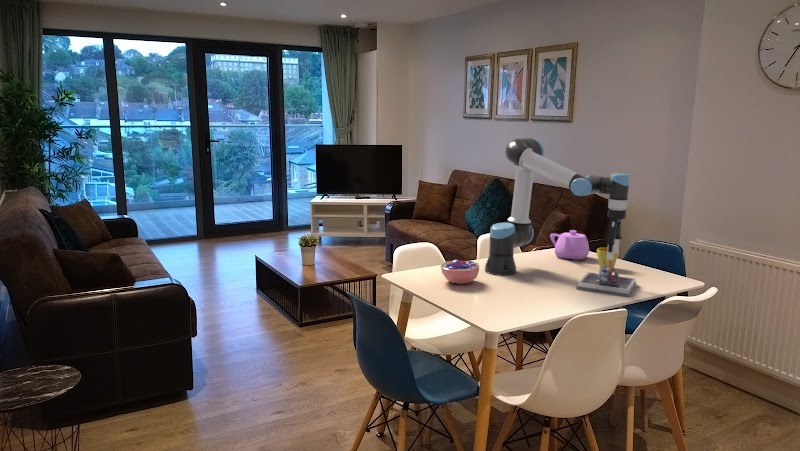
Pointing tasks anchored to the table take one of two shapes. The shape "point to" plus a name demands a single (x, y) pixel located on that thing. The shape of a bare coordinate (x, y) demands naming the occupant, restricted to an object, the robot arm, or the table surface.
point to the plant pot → (602, 258)
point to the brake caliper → (608, 276)
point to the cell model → (460, 271)
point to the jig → (593, 285)
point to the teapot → (571, 245)
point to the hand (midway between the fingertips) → (612, 256)
